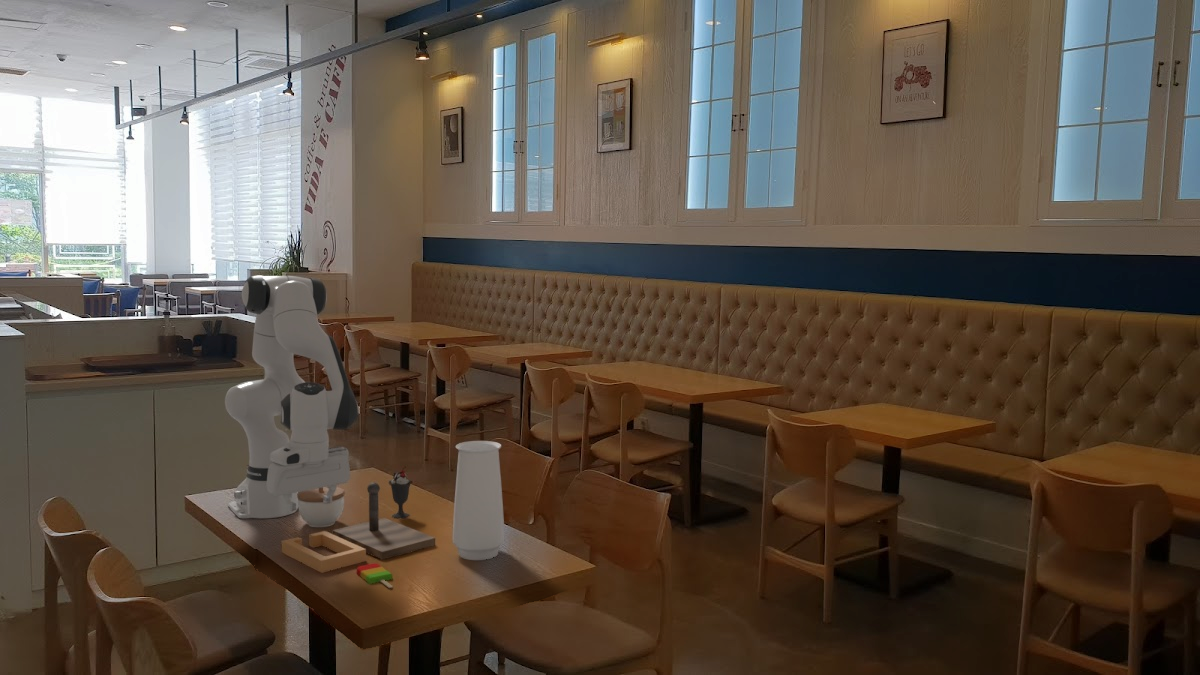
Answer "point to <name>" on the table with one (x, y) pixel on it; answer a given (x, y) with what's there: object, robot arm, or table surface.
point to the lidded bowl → (320, 506)
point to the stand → (383, 533)
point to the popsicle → (374, 574)
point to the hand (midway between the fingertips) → (309, 506)
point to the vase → (478, 501)
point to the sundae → (400, 491)
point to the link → (343, 558)
